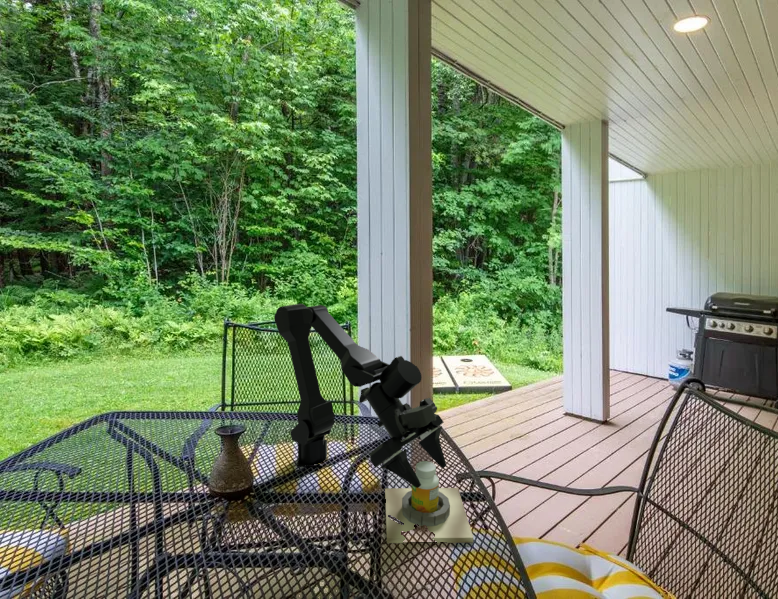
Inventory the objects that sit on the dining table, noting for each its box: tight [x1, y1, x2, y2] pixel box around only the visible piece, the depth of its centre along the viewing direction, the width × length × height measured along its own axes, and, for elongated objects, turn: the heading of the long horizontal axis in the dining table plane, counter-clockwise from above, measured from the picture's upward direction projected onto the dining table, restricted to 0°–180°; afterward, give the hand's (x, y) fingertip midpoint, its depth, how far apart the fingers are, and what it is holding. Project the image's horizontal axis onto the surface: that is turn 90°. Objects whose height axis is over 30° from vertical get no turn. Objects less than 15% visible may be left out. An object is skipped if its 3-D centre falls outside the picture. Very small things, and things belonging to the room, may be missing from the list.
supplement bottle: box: [411, 460, 440, 513], centre depth 90 cm, size 5×5×10 cm
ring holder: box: [384, 487, 474, 544], centre depth 90 cm, size 16×16×3 cm
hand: (432, 476), depth 88 cm, fingers open, 9 cm apart
